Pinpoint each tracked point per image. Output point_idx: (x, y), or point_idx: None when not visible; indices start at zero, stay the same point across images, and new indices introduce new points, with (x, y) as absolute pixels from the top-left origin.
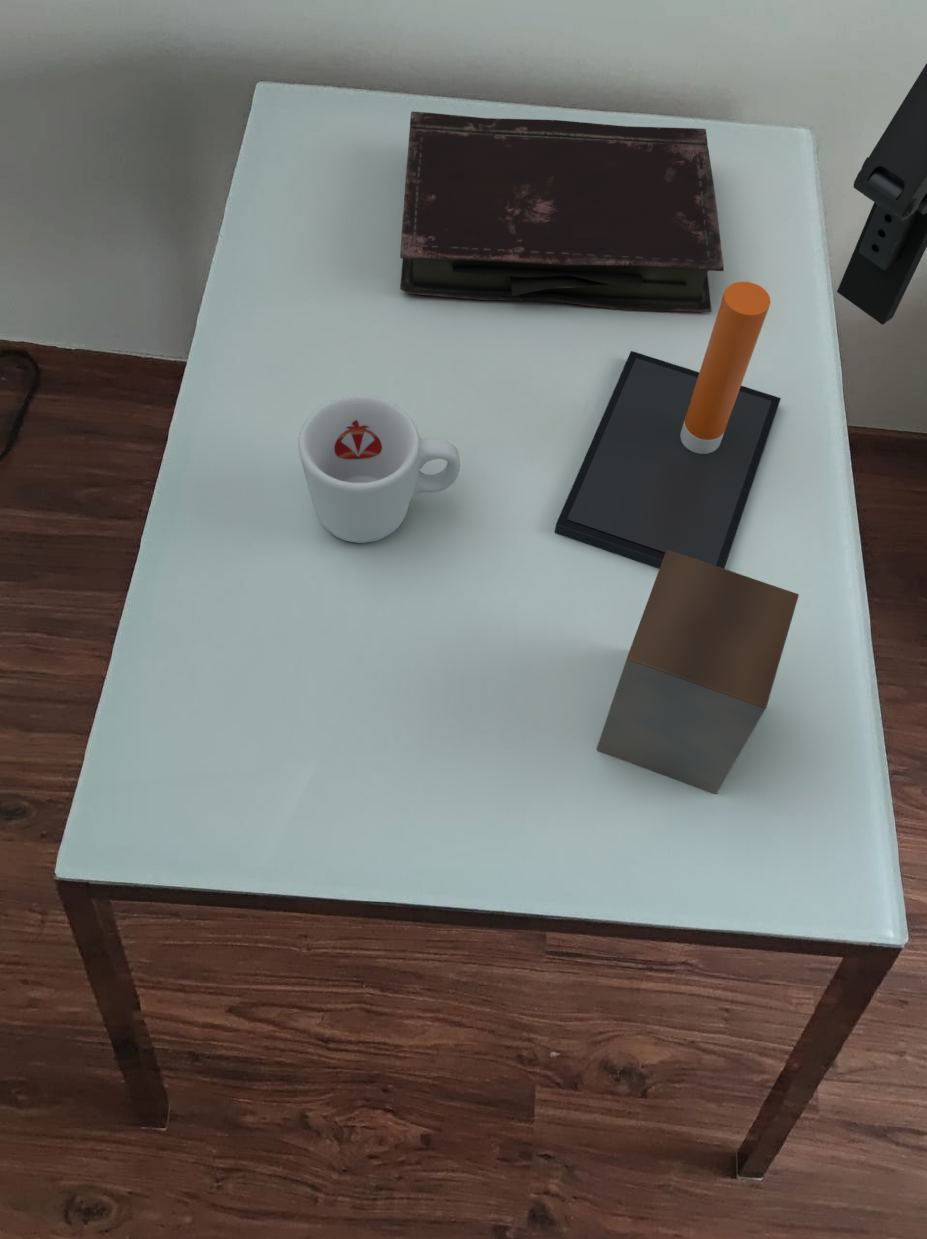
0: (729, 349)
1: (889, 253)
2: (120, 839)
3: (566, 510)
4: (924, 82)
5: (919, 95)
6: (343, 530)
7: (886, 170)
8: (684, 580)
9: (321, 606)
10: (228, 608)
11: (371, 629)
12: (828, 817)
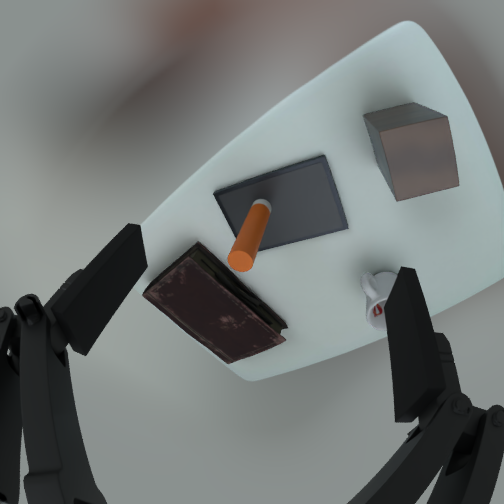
0: (257, 243)
1: (450, 352)
2: None
3: (339, 229)
4: None
5: None
6: None
7: (469, 451)
8: (408, 185)
9: (426, 269)
10: (439, 289)
11: (426, 252)
12: (390, 56)
